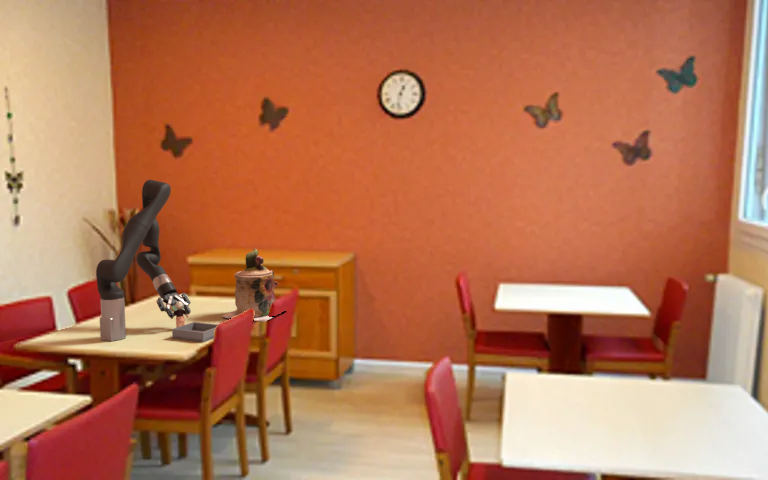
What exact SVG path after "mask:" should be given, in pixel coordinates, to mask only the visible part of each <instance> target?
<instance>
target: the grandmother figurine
mask: <svg viewBox="0 0 768 480" xmlns="http://www.w3.org/2000/svg"><path fill="white" fill-rule="evenodd" d="M175 307H176V308H177V309H178V310H176V311H174V310H173V311H172V312H173V314H174V316H173V318H170V320H174V317H175V325H176V327H175V328H177V327H180V326H183V325H186V321H185V319H186V318H190V316H189V314H187V312H186V311H185V310H184V309H182V307H183V303H182V302H177V303H176V304H175ZM185 317H186V318H185Z"/></svg>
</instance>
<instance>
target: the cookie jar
mask: <svg viewBox="0 0 768 480" xmlns="http://www.w3.org/2000/svg"><path fill="white" fill-rule="evenodd" d="M263 265H264V257H263V256H260V255H259V250H258V249H257V248H254V249H253V250H252V251H251V252H248V253H246V255H245V267H246V268H244V269H243V270H241V271H236V272H235V273H234V279H235V291H234V297H235V298H234V299H235V301H234V303H235V304H234V305H235V307H236V309H235V310H233V311H229V312H228V313H225V314H222V319H229V320H230V318H232V317H234V316H236V315H239V314H241V313H243V312H244V311H246V310H248V309H251V308H253V309H254V311H255V315H254V322H262V323H263V322H264V323H265V322H267V321H268V320H271V319H273V317H269V316H268V314H269V310H270V306H271V304H272V303H273V301H275V300H276V301H277V298H276V296H275V295H276V294H275V292H274V291H275V290H276V288H277V287H278V285H279V282H278V281H275V274H274V271H273V270H269V269H268V268H267V267H266V266H263ZM276 301H275V302H276Z"/></svg>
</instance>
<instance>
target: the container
mask: <svg viewBox="0 0 768 480" xmlns="http://www.w3.org/2000/svg"><path fill="white" fill-rule="evenodd" d="M186 296H187V297H188V298H189V296H188V295H187V294H186ZM179 302H181V301H179ZM183 305H184V304H183ZM171 307H172V309H171V310H173V312H174V311H176V310H178V309H177V308H176V307H175V305H173V306H171ZM182 309H183V310H184V308H183V307H182Z"/></svg>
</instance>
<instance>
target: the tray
mask: <svg viewBox="0 0 768 480" xmlns="http://www.w3.org/2000/svg"><path fill="white" fill-rule="evenodd" d="M217 325H219V324H217V323H210V322H208V323H207V322H199V321H192V322H189V323H187V324H186V323H185V325H183V326H180V327H175V328H171V331H172V332H171V333H172V335H171V336H172V339H174V340H182V341H191V342H198V343H205V342H208V341H211V340H213V339H214V338H213V337H214V330H215V328H216V326H217Z"/></svg>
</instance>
